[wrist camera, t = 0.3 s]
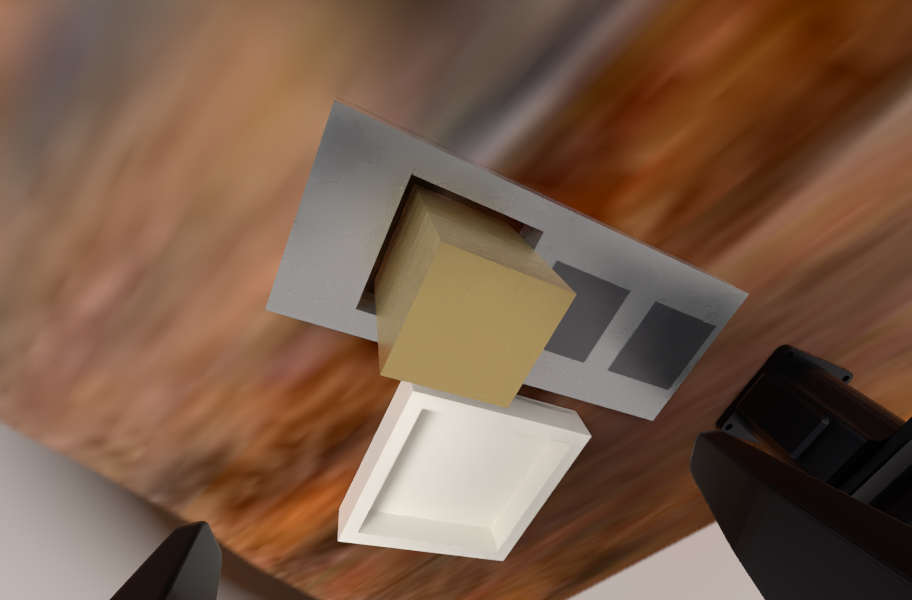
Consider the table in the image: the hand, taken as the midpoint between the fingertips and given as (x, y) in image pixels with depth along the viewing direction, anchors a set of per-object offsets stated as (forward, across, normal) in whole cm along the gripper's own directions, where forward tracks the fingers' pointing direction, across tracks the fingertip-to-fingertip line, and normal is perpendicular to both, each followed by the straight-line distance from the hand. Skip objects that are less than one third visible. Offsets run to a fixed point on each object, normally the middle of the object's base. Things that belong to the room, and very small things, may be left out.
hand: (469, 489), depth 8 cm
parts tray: (+13, -1, +13) cm, 18 cm away
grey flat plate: (+13, -5, +2) cm, 14 cm away
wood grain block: (+13, -1, 0) cm, 13 cm away
